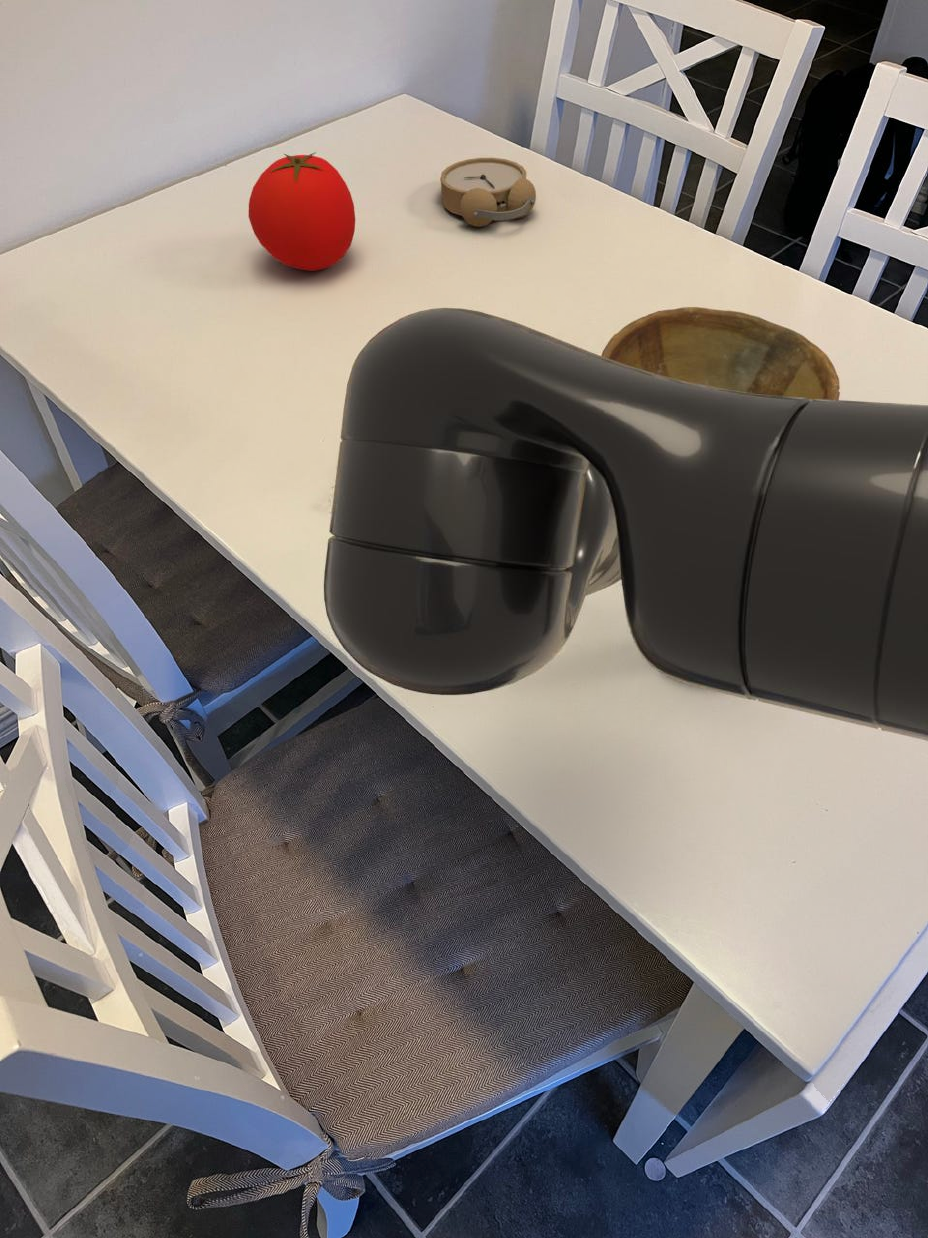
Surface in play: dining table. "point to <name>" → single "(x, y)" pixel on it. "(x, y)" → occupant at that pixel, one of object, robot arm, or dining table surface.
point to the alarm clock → (487, 190)
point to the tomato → (303, 212)
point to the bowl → (726, 353)
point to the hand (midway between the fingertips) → (610, 522)
